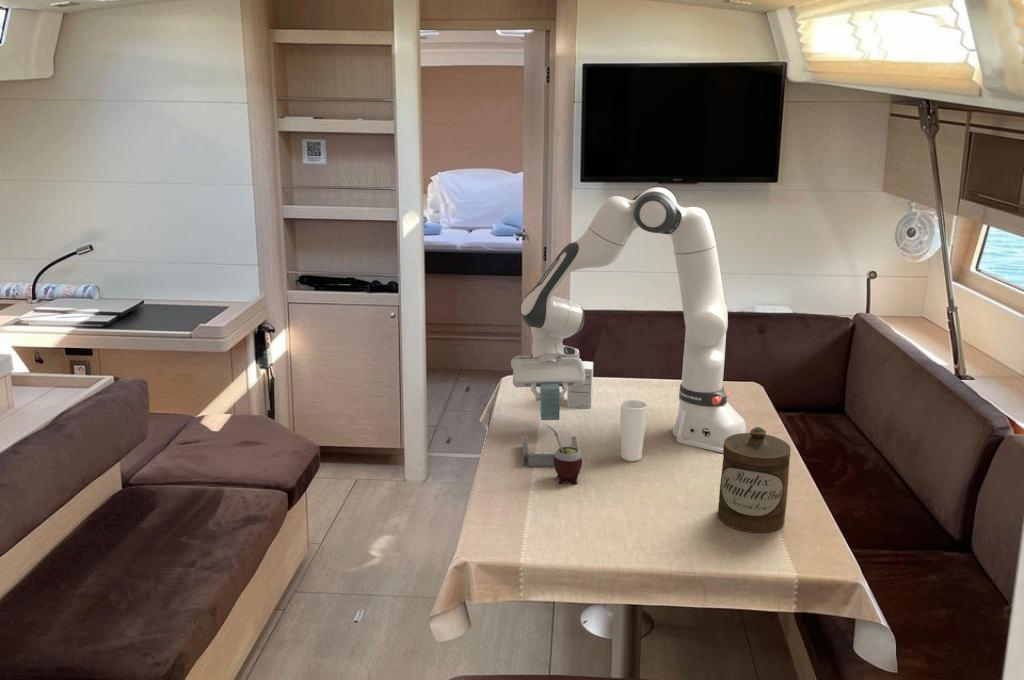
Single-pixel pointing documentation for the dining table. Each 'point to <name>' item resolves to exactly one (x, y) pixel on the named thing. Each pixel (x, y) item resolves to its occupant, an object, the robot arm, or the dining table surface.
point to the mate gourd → (567, 462)
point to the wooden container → (754, 481)
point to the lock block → (549, 401)
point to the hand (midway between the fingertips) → (549, 399)
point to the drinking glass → (632, 429)
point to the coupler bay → (541, 455)
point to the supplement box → (582, 390)
